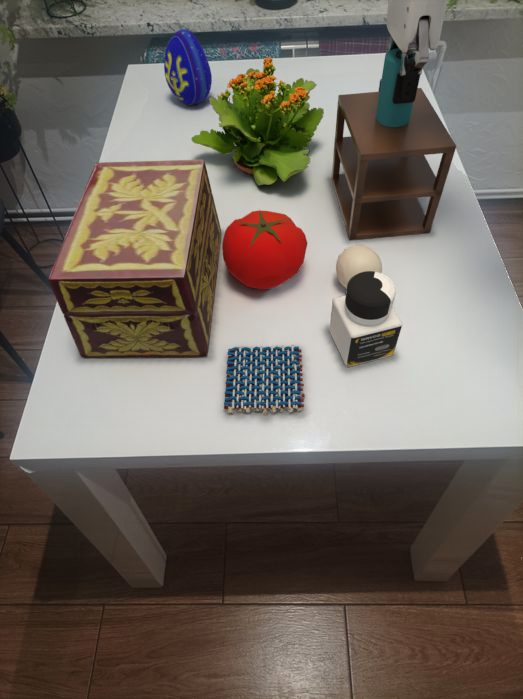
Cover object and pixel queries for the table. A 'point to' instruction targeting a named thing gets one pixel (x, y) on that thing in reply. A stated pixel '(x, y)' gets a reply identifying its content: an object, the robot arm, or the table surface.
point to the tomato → (264, 249)
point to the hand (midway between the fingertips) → (398, 91)
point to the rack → (388, 167)
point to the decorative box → (141, 261)
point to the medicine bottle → (365, 319)
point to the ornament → (187, 68)
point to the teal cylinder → (386, 108)
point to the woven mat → (264, 379)
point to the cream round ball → (356, 262)
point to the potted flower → (264, 124)
